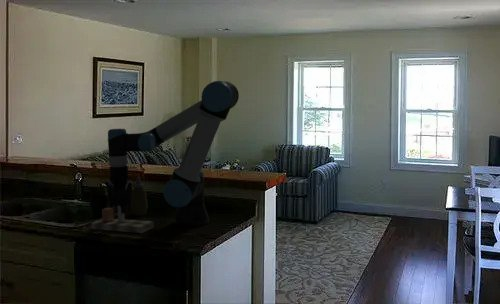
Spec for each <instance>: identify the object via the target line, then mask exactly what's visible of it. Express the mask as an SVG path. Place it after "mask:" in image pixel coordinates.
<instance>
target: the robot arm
mask: <svg viewBox="0 0 500 304" xmlns="http://www.w3.org/2000/svg"><path fill="white" fill-rule="evenodd" d="M239 98H240V95H239V89H238V88H237V87H236V85H235V84H233V83H232V82H230V81H223V80H215V81H212V82H210V83H208V84H207V85H206V86H205V87H204V88H203V90H202V92H201V100H199V101H198V102H196V103H193V104H192V105H190V107H188V108H185V109H184V110H182V111H181V112H179V113H177V114H176V115H174V116H172V117H170V118H169V119H167V120H166V121H163V122H162V123H159V125H157V126H155V127H153V128H152V129H150V130H147V131H144V132H140V133H139V132H138V133H127V129H126V128H111V129H109V130H108V131H107V145H108V146H107V148H108V164H109V177H110V178H109V180H108V181H105V183H104V185H105V186H106V188H107V191H108V195H109V196H108V197H109V199H110V200H109V201H110V204H111V203H112V204H113V206H115V212H116V214H117V219H118V221H119V222H121V221H124V220H125V219H126V218H125V214H126V212H127V211H126V207H127V205H130V204H131V192H132V190H133V188H134V187H133V185H134V184H135V181H131V180H130V178H129V175H128V174H129V167H128V152H143V153H147V152H152V151H154V150H155V149H156V148H159V147H160V146H161V145H162V144H163V143H165V142H168V141H169V140H170V139H172V138H173V137H176V136H177V135H179V134H181V133H182V132H184V131H186V130H187V129H190V128H191V127H193V126H194V127H195V128H194V130H193V133H192V135H191V137H190V140H189V141H188V142H189V143H188V144H187V146H186V149H185V151H184V155H183V157H182V160H181V162H180V165H179V167H176V168H174V169H173V171H172V174H171V177H170V179H169V180H168V181H167V182H166V184H165V185H164V187H163V189H162V192H163V197H164V200H165V202H166V203H167V204H168V205H170V206H171V207H174V208H176V209H175V210H176V211H175V214H174V217H173V223H174V225H176V226H180V227H198V226H203V225H206V224H208V223H210V222H209V221H210V220H209V217H210V216H209V215H208V214H209V213H208V212H207V209H206V206H205V176H204V172H203V170H202V168H203V166H204V163H205V161H206V158H207V155H208V154H209V151H210V149H211V147H212V145H213V142H214V140H215V139H214V138H215V137H216V134H217V132H218V129H219V127H220V125H221V122H223V121H226V120H227V117H228V115H229V112H230V110H231V109H232V108H234V107H235V106H236V105H237V103H238V101H239Z"/></svg>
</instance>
